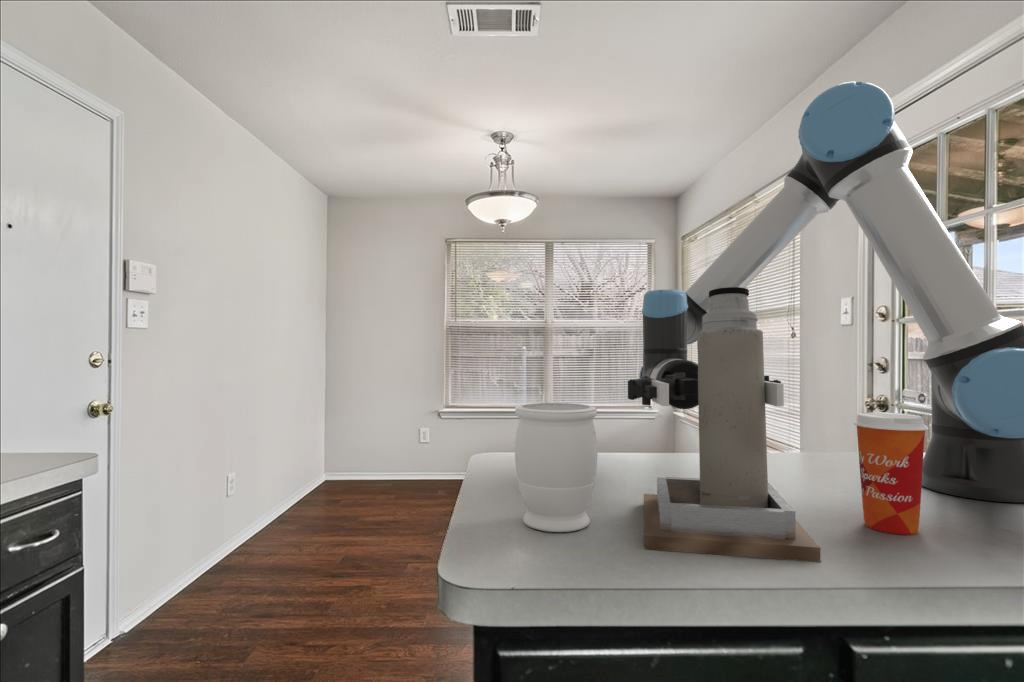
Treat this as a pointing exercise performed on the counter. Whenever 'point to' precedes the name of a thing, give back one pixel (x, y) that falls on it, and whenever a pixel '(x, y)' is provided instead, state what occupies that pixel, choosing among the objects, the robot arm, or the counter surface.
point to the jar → (556, 464)
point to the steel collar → (721, 513)
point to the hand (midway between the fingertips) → (722, 395)
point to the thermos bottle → (731, 403)
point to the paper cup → (891, 470)
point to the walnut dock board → (725, 540)
